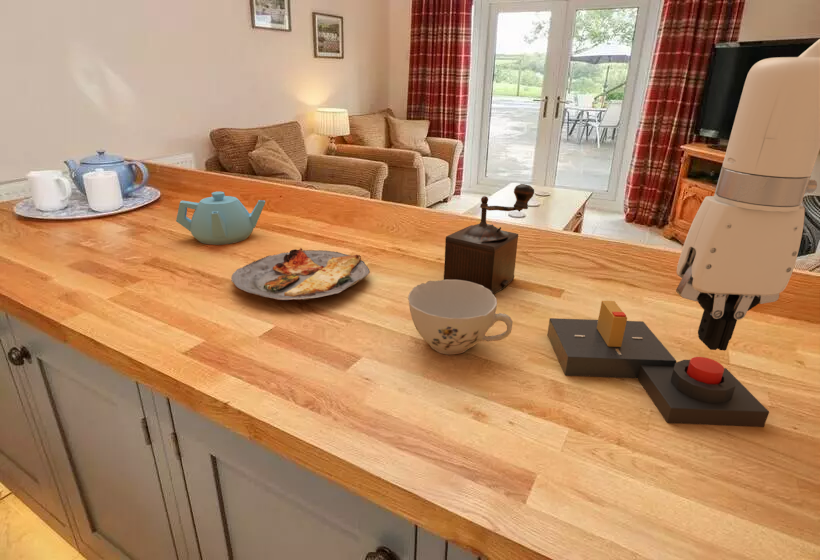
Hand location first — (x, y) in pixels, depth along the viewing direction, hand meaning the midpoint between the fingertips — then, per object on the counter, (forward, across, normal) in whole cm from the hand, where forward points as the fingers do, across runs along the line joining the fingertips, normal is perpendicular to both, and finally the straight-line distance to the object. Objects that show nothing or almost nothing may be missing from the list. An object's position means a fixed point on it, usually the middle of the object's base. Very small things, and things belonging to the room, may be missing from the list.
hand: (711, 343), depth 58 cm
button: (+5, 0, 0) cm, 5 cm away
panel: (+8, +8, -10) cm, 15 cm away
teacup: (+9, +29, -11) cm, 32 cm away
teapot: (+9, +82, -58) cm, 101 cm away
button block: (+8, 0, 0) cm, 8 cm away
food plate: (+9, +57, -33) cm, 66 cm away
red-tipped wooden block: (+5, +8, -10) cm, 14 cm away
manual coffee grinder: (+8, +22, -38) cm, 45 cm away
